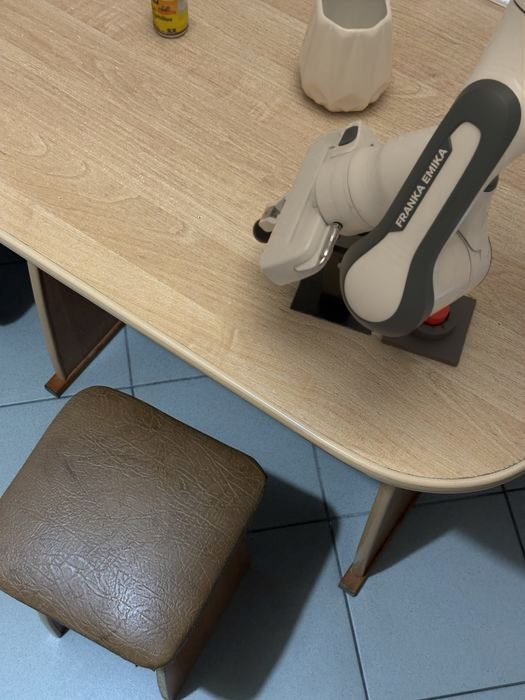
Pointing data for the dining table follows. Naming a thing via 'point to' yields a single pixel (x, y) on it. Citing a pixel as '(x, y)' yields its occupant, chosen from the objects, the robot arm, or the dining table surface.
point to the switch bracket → (327, 294)
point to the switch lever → (264, 236)
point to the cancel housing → (439, 335)
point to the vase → (347, 53)
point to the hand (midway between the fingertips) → (265, 219)
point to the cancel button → (438, 316)
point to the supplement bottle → (170, 17)
